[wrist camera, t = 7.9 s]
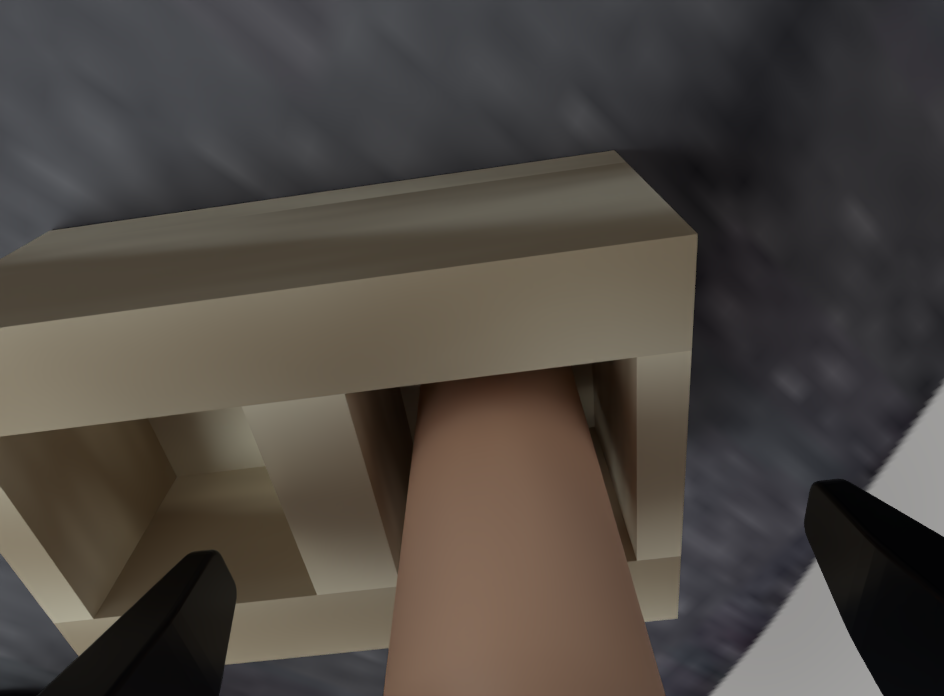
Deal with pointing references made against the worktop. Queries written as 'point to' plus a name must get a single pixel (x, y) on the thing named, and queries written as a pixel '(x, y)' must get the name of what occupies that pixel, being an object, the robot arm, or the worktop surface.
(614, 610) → the peg
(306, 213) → the socket block
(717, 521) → the worktop surface
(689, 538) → the worktop surface
